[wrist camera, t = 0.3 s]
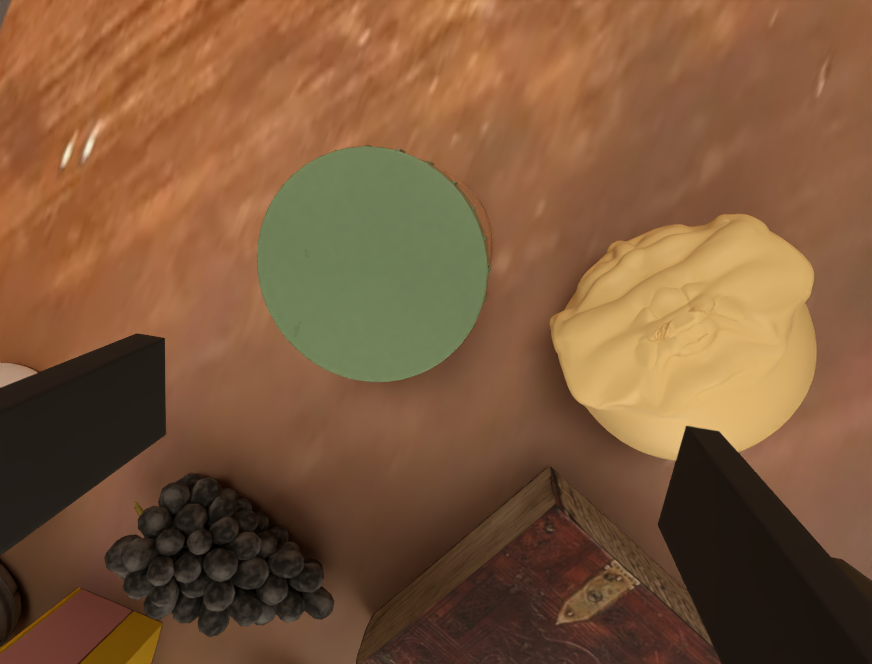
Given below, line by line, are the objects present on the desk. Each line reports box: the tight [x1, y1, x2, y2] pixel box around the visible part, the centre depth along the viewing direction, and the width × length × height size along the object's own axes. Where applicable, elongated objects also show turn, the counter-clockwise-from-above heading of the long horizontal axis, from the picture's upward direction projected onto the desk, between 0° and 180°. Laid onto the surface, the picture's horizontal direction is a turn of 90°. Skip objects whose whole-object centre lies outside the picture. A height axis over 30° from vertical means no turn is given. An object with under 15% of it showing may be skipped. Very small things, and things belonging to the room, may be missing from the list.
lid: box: [257, 145, 491, 382], centre depth 22 cm, size 10×10×2 cm
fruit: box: [105, 473, 334, 637], centre depth 36 cm, size 9×8×15 cm
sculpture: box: [550, 214, 817, 460], centre depth 27 cm, size 11×12×11 cm
